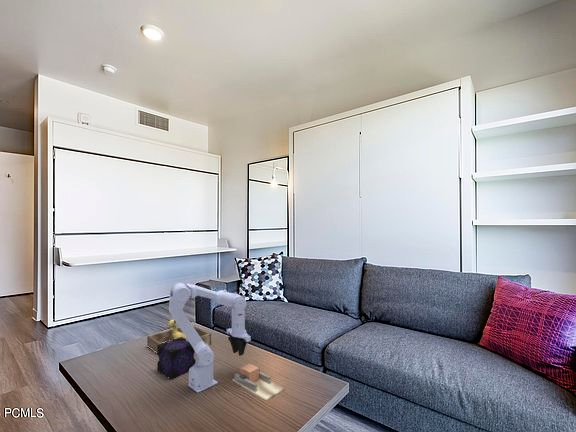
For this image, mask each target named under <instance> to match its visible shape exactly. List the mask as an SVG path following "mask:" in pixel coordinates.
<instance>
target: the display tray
mask: <svg viewBox="0 0 576 432" xmlns="http://www.w3.org/2000/svg"><path fill="white" fill-rule="evenodd" d="M193 327H194V328H195V330H196V331H197V333H198V334H199V336H200V337H201V339H202V340H203V342H205V343H207V344H208V345H209V346H211V345H212V333H210V332H208V331H206V330H204V329H201V328H199V327H197V326H195V325H193ZM172 330H173V328H172V329H171V328H170V329H168V330H165V331H161V332H158V333H154V334H151V335H147V339H146V341H147V343H146V344H147V345H148V346H149V347H150V348H152V349H153V350H154V351H156V352H157V345H159V344H162V342H165V341H169V340H173V338H172ZM177 331H178V332H181V333H183V332H182V331H181V329H180V328H179V326H177ZM188 342H189V341H188ZM147 345H146V346H147ZM154 351H153V352H154Z"/></svg>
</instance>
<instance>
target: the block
mask: <svg viewBox="0 0 576 432" xmlns="http://www.w3.org/2000/svg"><path fill="white" fill-rule="evenodd" d="M259 370H260V369H259V367H258V366H256V365H254V364H253V363H252V364H251V363H248V364H246V365H243V366H241V367H240V375H241V374H242V375H244V376H246V378H247V379H249V380H250V381H252V382H256V381H258V380H259Z"/></svg>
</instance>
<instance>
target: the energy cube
mask: <svg viewBox="0 0 576 432" xmlns="http://www.w3.org/2000/svg"><path fill="white" fill-rule="evenodd" d="M156 354H157V356H158V361H156V362H157V364H156V365H157V367H156V368H157V370H158V371H159V372H161V373H164V374H163V375H165V377H166V376H167V377H169V378H170V379H172V380H174V379H173V378H175V379H177V378H179V377H181V376H180V375H182V374H184V373H186V372H188V373H189V369H190V368H191V367H192V366H194V365H195V362H196V359H195V350H194V349H193V347H192V345H191V344H190V342H188V341H186V339H185V338H183V337H180V338H177V339H174V340H173V341H172V342H169V343H167V342H165V343H162V344H159V345H157V353H156ZM157 370H156V371H157ZM158 371H157V372H158ZM159 372H158V373H159ZM161 373H160V374H161ZM178 376H179V377H178ZM167 377H166V378H167ZM176 377H177V378H176ZM169 378H168V379H169ZM170 379H169V380H170Z"/></svg>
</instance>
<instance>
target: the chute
mask: <svg viewBox="0 0 576 432" xmlns="http://www.w3.org/2000/svg"><path fill="white" fill-rule="evenodd" d="M231 382H233V383H234V384H237V385H238V386H240V387H242V388H243V389H244V390H246V391H248V392H249V393H251V394H254V395H255V396H257V397H259V398H260V399H262V400H264V401H266V402H268V401H269V400H270V399H272V398H274V397H275V396H277V395H279V394H280V393H282V392H283V391H285V387H283V386H281V385H279V384H277V383H276V382H273V381H272V376H270V375H268V374H266V373H264V372H263V371H261V370H260V369H259V380H258V381H256V382H252V381H250V380H249V379H247V378H246V376H244V375H242V374H241V373H240V374H239V373H235V374H234V378H233V379H232V380H231Z"/></svg>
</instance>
